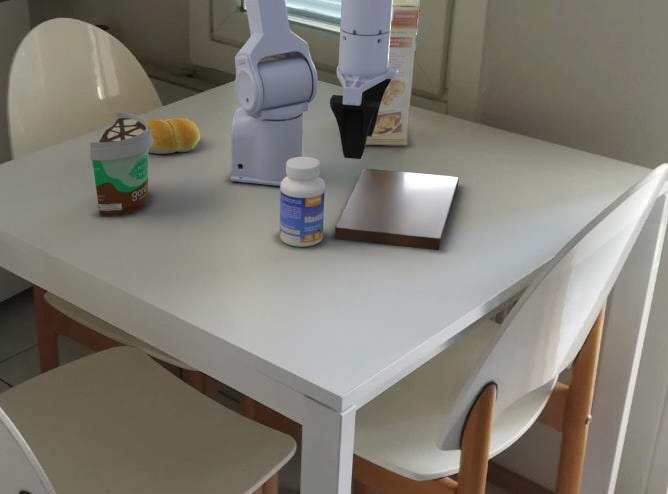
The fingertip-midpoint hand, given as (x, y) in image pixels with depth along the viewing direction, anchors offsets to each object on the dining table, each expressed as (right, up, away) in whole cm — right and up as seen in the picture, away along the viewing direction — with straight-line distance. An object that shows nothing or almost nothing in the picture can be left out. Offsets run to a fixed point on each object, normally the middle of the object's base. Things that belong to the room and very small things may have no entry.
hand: (358, 146), depth 133 cm
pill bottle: (-7, -11, +4) cm, 13 cm away
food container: (-29, -4, +12) cm, 31 cm away
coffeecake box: (+7, +13, +34) cm, 37 cm away
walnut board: (+6, -6, +10) cm, 13 cm away
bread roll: (-25, +9, +29) cm, 39 cm away
